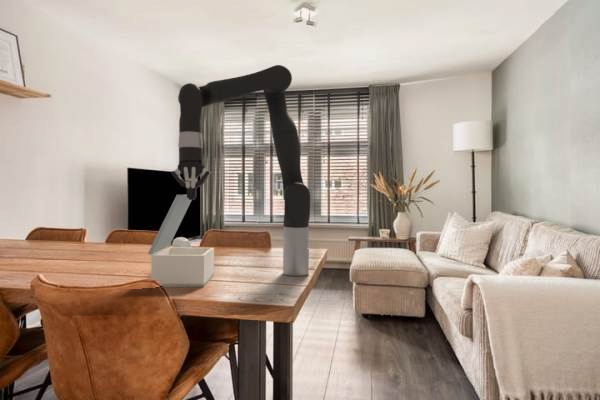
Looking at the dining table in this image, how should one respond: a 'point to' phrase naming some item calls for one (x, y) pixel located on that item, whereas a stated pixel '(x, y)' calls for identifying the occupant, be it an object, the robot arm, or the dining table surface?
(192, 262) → the carton
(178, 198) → the carton lid
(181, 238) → the white rounded piece
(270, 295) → the dining table surface
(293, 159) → the robot arm
